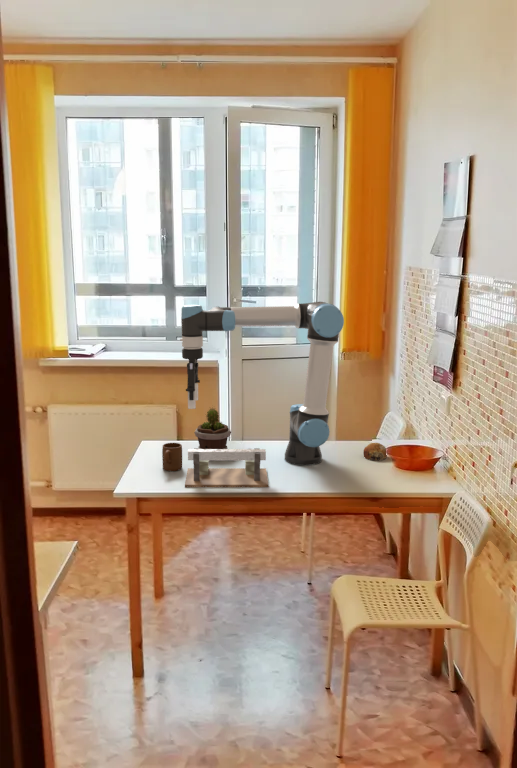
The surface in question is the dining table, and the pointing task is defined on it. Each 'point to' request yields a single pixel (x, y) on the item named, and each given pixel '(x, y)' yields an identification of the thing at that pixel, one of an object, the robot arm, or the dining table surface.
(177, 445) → the mug
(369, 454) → the bread roll
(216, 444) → the flowerpot
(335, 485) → the dining table surface
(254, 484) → the rack
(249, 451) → the rail
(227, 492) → the dining table surface
